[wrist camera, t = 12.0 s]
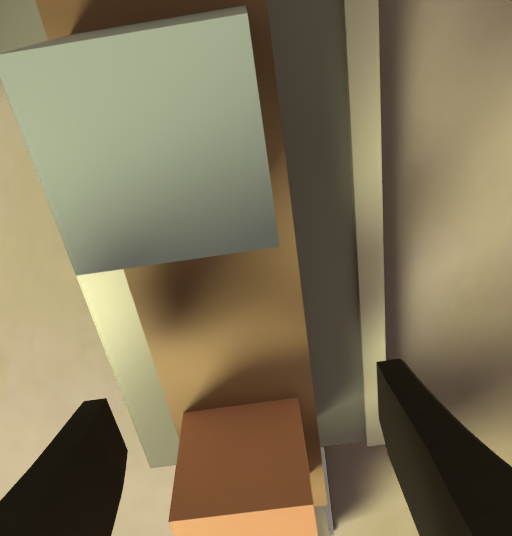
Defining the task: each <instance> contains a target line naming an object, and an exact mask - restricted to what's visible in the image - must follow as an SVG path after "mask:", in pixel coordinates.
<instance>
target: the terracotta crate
mask: <svg viewBox="0 0 512 536" xmlns="http://www.w3.org/2000/svg"><path fill="white" fill-rule="evenodd" d="M169 524H170V527H171V529H172V532H173V534H174V536H318V529H317V522H316V515H315V508H314V501H313V494H312V487H311V480H310V473H309V466H308V460H307V453H306V446H305V440H304V433H303V426H302V420H301V413H300V406H299V400H298V398H291V399H283V400H276V401H268V402H261V403H253V404H245V405H238V406H230V407H223V408H215V409H208V410H200V411H192V412H185V413H183V419H182V427H181V434H180V441H179V449H178V456H177V463H176V471H175V478H174V486H173V493H172V500H171V508H170V515H169Z"/></svg>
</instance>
